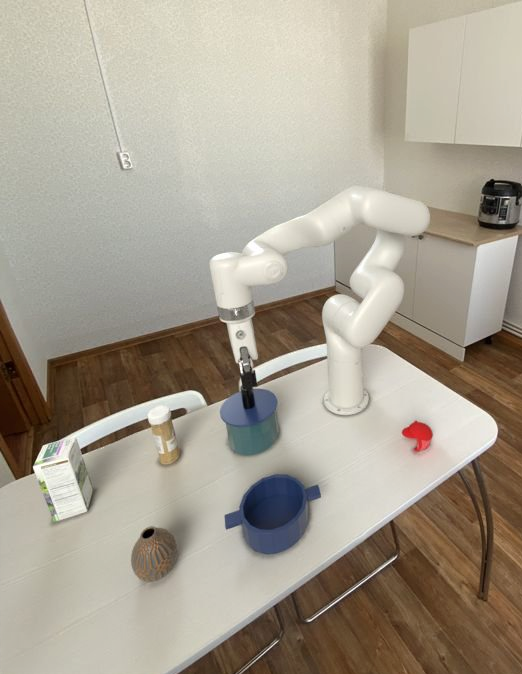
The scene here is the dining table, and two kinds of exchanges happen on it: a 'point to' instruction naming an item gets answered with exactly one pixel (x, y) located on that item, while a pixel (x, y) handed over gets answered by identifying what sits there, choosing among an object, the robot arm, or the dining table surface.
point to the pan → (273, 513)
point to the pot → (254, 436)
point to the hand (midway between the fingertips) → (247, 375)
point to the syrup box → (63, 478)
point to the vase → (154, 554)
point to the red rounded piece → (419, 434)
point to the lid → (248, 407)
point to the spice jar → (164, 434)
